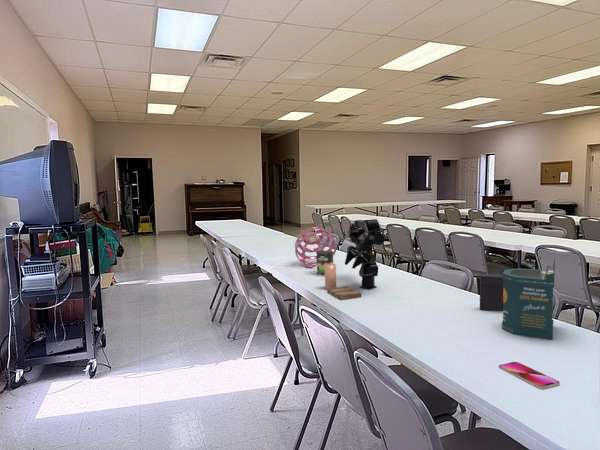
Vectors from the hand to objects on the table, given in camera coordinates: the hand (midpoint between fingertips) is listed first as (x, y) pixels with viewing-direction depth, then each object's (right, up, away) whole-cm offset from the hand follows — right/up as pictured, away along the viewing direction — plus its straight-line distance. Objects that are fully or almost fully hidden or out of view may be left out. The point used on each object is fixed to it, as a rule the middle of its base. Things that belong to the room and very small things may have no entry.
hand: (349, 266), depth 208 cm
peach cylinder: (-8, -13, +10) cm, 19 cm away
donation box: (+59, -18, -56) cm, 83 cm away
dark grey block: (+57, -15, -33) cm, 68 cm away
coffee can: (-9, -10, +45) cm, 47 cm away
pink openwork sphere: (-14, -7, +72) cm, 73 cm away
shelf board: (-3, -14, -2) cm, 14 cm away
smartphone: (+40, -22, -91) cm, 102 cm away
